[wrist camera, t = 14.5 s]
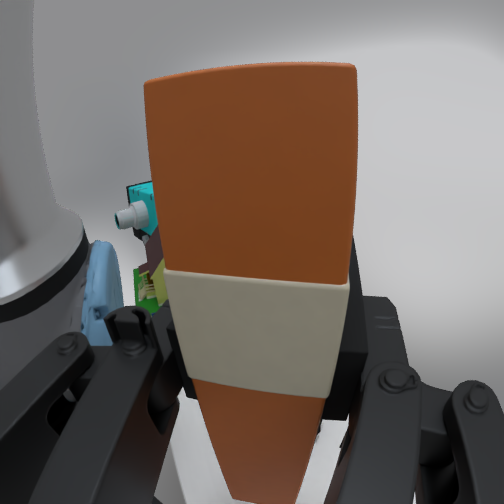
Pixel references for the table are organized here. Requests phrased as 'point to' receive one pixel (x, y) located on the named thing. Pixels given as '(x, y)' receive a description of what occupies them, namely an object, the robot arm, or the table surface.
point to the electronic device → (139, 211)
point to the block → (257, 252)
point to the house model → (151, 276)
